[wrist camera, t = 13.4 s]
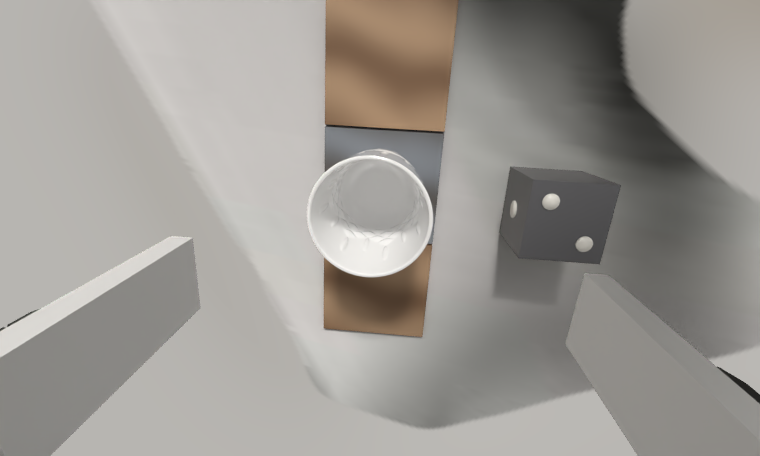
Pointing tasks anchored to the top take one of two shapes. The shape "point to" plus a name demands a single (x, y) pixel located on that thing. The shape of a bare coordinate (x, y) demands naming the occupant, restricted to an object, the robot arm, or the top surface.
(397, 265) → the white cup
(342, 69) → the board
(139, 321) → the robot arm
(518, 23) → the top surface
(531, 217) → the die
